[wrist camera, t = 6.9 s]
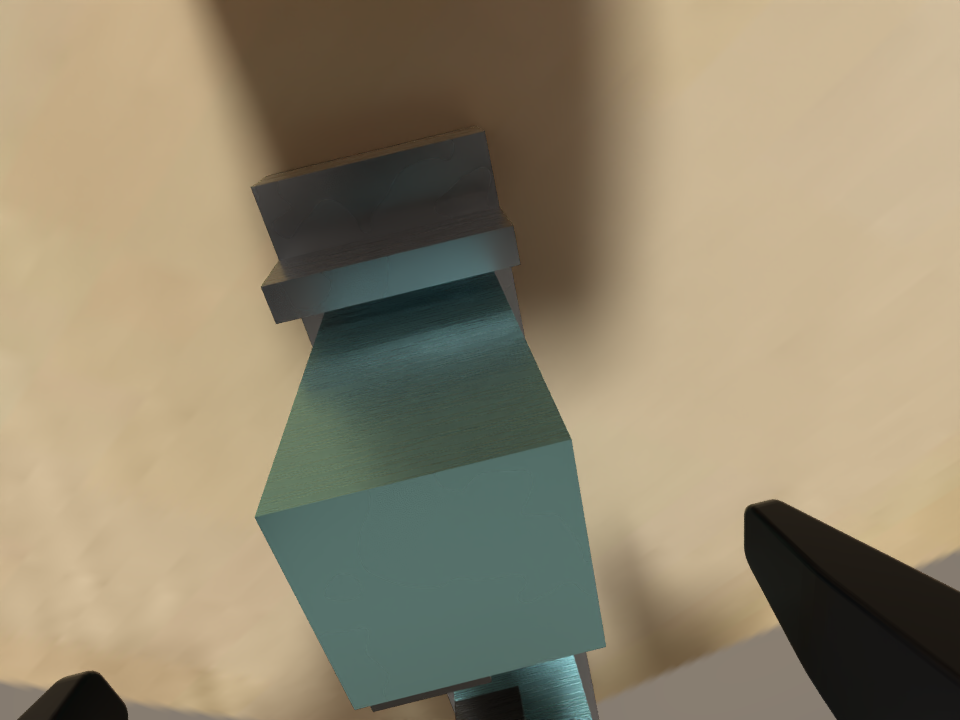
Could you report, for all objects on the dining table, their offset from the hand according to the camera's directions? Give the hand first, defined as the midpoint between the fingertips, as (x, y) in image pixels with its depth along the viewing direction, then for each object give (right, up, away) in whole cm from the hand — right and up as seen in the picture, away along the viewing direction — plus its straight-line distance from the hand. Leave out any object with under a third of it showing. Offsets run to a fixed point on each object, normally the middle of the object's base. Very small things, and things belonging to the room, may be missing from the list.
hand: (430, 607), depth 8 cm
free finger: (-1, +3, +6) cm, 7 cm away
